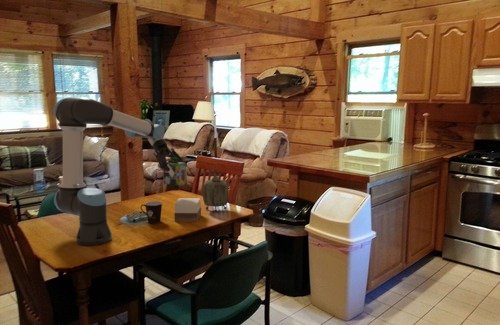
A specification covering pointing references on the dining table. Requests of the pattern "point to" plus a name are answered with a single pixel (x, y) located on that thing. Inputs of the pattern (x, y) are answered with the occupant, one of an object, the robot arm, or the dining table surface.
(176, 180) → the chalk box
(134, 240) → the dining table surface
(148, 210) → the coffee mug
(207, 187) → the olive tall rounded piece
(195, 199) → the cream block
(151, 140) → the robot arm
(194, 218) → the grey square block
